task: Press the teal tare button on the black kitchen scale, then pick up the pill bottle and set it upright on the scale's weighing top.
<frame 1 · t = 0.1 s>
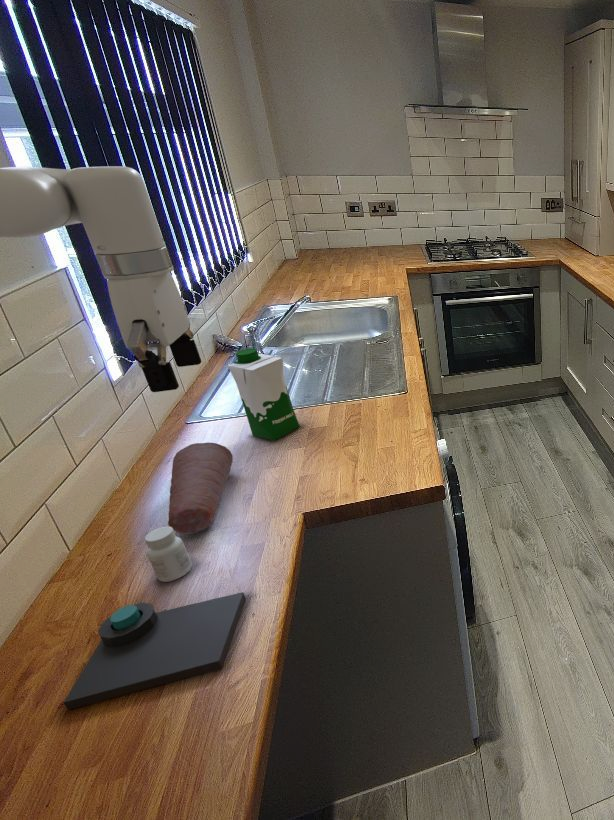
hand: (178, 376, 78), 30 cm above the countertop, tool pointing down, fingers open, 9 cm apart
scale: (166, 648, 70), on the countertop
pill bottle: (176, 573, 83), on the countertop
tare button: (125, 617, 71), point 3 cm above the countertop, slide at 0.1 cm
milk carton: (277, 432, 124), on the countertop
food: (199, 507, 98), on the countertop
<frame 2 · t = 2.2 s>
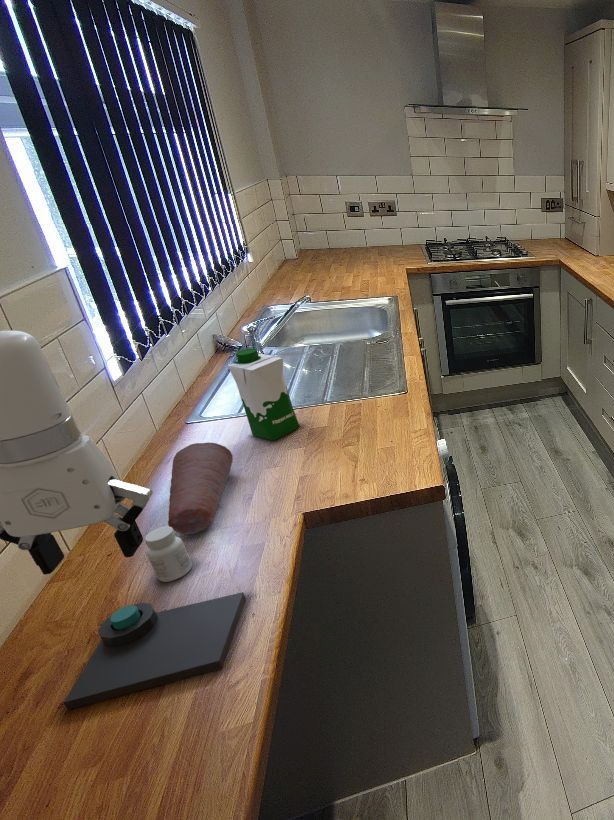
hand: (95, 557, 67), 14 cm above the countertop, tool pointing down, fingers open, 7 cm apart
nothing on the countertop moved.
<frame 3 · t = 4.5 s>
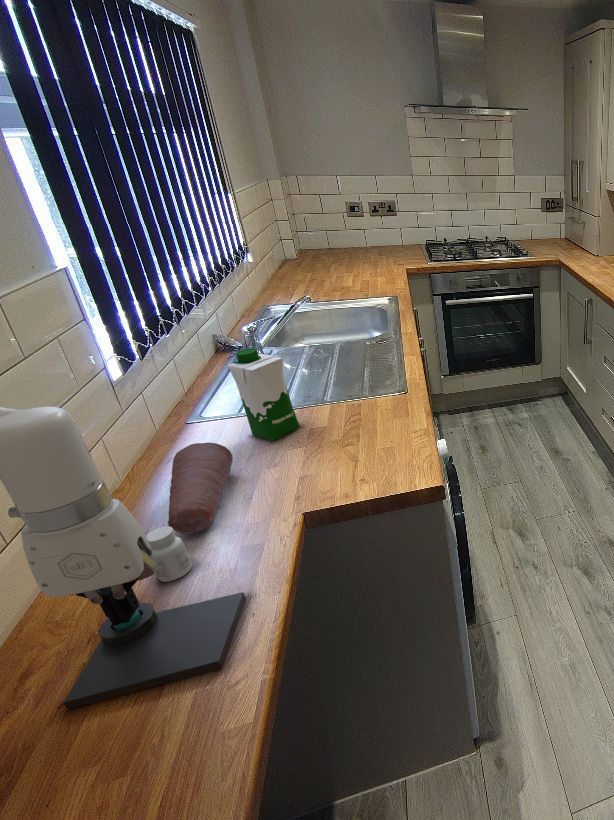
hand: (126, 615, 71), 4 cm above the countertop, tool pointing down, fingers closed
tare button: (126, 620, 71), point 3 cm above the countertop, slide at -0.4 cm, touching gripper
everything else where it was.
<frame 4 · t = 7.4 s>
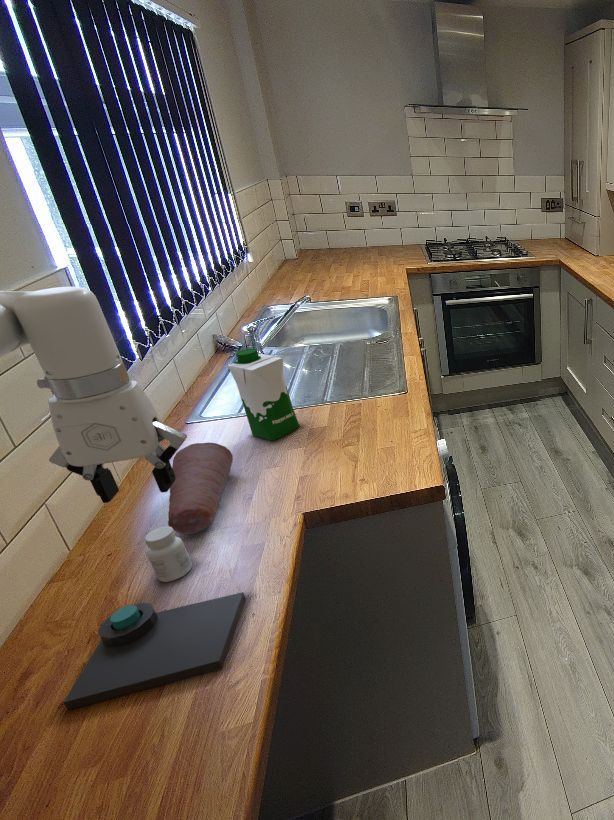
hand: (139, 491, 77), 16 cm above the countertop, tool pointing down, fingers open, 6 cm apart
tare button: (125, 617, 71), point 3 cm above the countertop, slide at 0.1 cm
everything else where it was.
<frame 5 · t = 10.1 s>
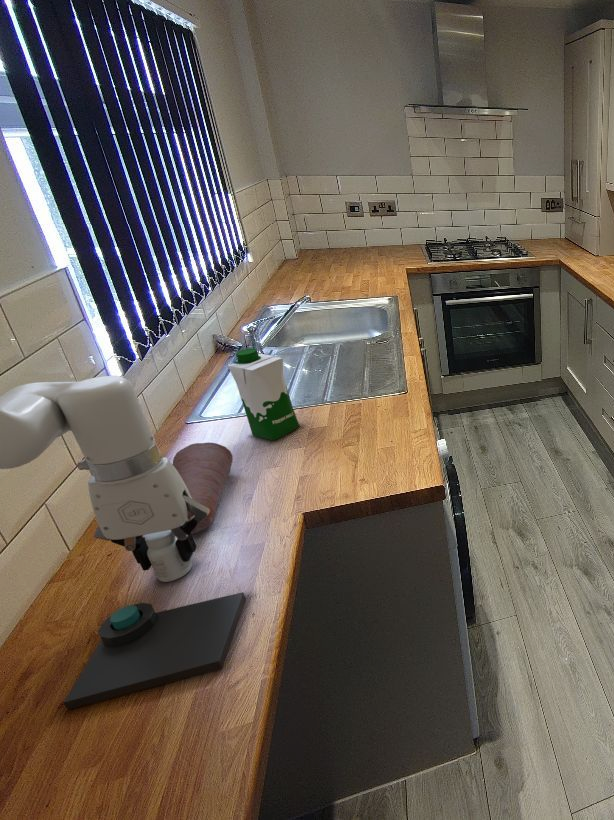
hand: (169, 558, 82), 3 cm above the countertop, tool pointing down, fingers closed on pill bottle, 4 cm apart
pill bottle: (176, 573, 83), on the countertop, touching gripper
everything else where it was.
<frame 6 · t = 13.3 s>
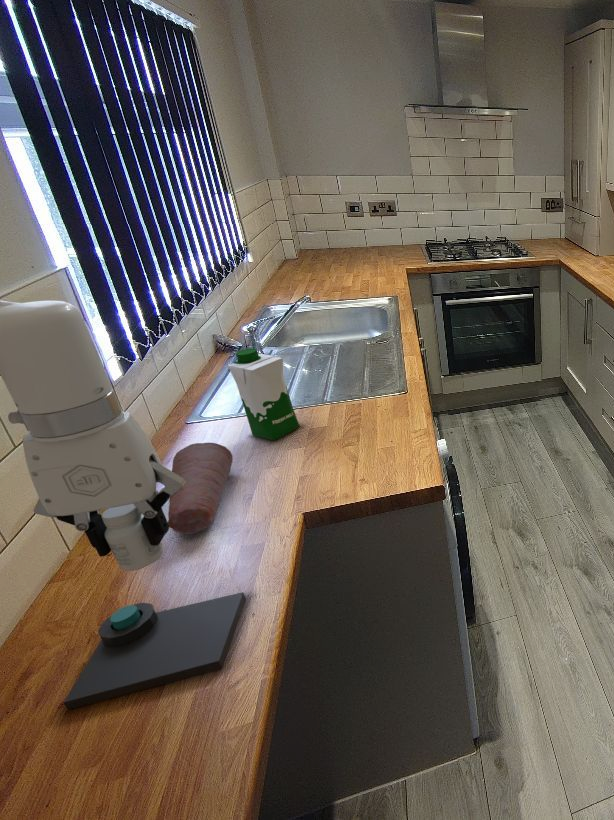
hand: (134, 542, 65), 17 cm above the countertop, tool pointing down, fingers closed on pill bottle, 4 cm apart
pill bottle: (143, 560, 66), point 14 cm above the countertop, touching gripper
everything else where it was.
when the fingers open (4 cm above the countertop, at t = 16.8 s): pill bottle stays where it is, resting on scale.
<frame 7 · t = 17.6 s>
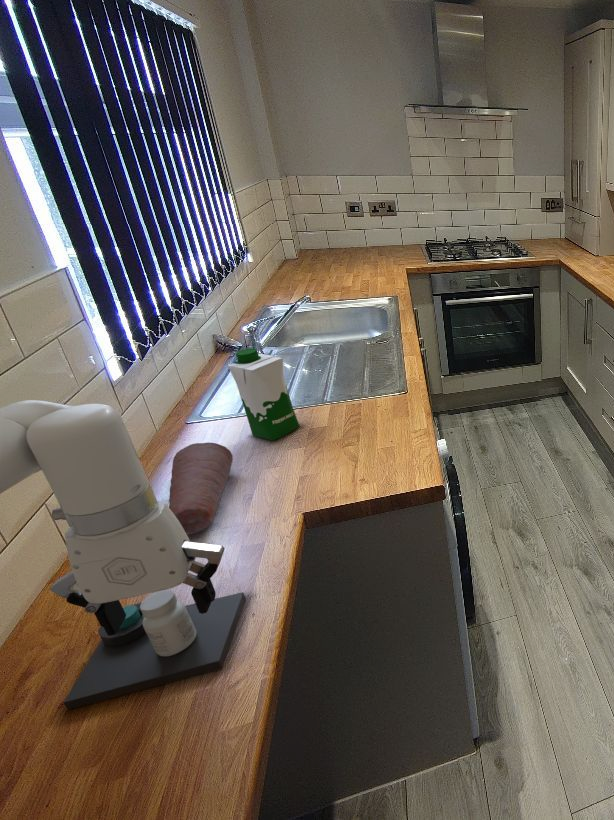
hand: (163, 615, 68), 6 cm above the countertop, tool pointing down, fingers open, 9 cm apart
pill bottle: (177, 643, 70), point 1 cm above the countertop, touching scale
everything else where it was.
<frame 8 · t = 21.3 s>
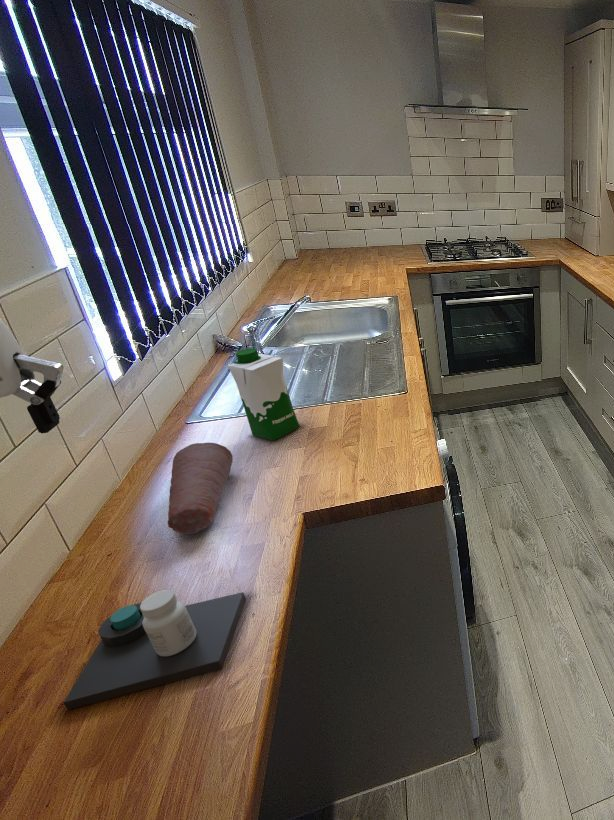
hand: (2, 435, 67), 28 cm above the countertop, tool pointing down, fingers open, 9 cm apart
nothing on the countertop moved.
at the end: tare button pushed in 0.9 cm at the most during the clip, back to where it started at the end; pill bottle inside the target area on the scale (1.9 cm from its centre), point 1.2 cm above the scale's base; pill bottle touching scale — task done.
